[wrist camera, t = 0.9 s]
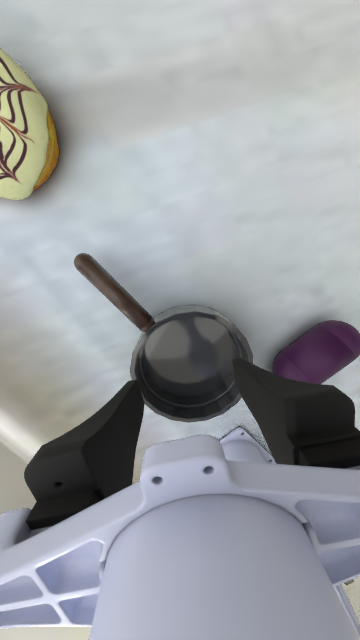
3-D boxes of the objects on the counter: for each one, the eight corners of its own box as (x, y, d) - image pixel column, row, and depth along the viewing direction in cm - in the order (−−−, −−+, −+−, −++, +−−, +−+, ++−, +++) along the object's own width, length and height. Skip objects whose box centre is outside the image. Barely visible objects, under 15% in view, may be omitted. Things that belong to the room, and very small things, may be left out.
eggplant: (323, 307, 23) (363, 317, 19) (344, 335, 24) (386, 352, 20) (243, 370, 25) (260, 394, 20) (265, 393, 26) (286, 422, 22)
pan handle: (159, 321, 21) (158, 326, 19) (147, 332, 21) (145, 338, 19) (87, 249, 19) (79, 248, 17) (75, 262, 19) (65, 262, 17)
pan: (260, 356, 25) (276, 373, 21) (185, 415, 27) (187, 440, 23) (193, 281, 22) (198, 284, 18) (115, 353, 24) (104, 370, 20)
